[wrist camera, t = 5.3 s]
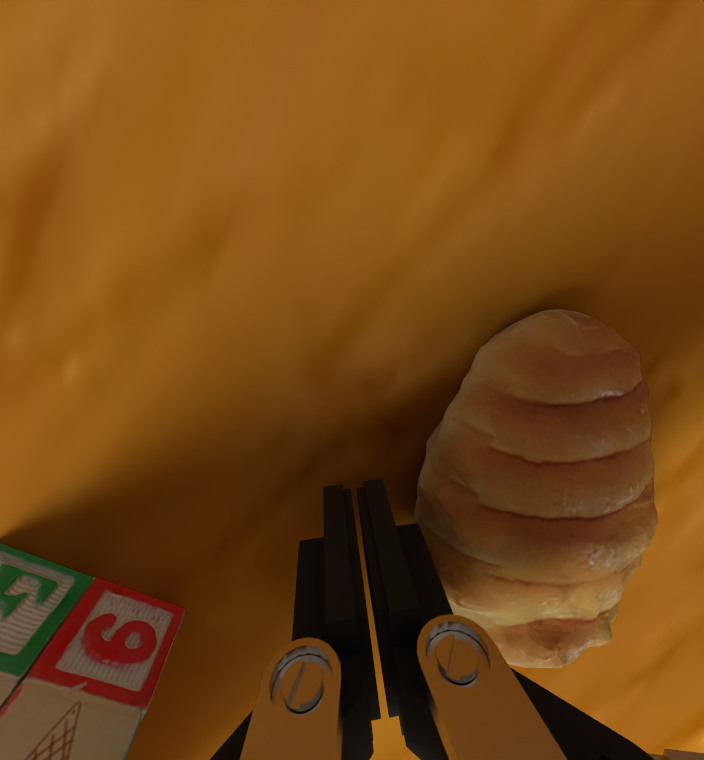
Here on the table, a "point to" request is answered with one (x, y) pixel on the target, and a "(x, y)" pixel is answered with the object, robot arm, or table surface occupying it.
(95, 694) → the stack of blocks
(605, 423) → the pastry
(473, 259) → the table surface
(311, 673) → the robot arm
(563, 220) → the table surface
